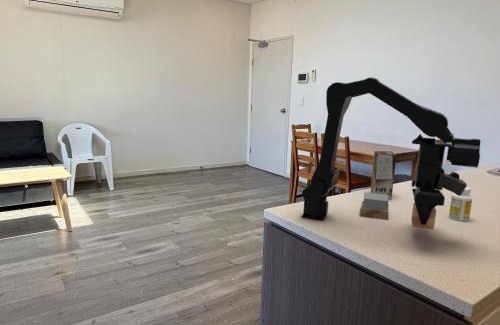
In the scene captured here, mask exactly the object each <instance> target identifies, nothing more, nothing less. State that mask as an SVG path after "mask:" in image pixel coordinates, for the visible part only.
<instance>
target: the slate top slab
mask: <svg viewBox="0 0 500 325" xmlns="http://www.w3.org/2000/svg"><path fill="white" fill-rule="evenodd" d="M363 201H364V202H363V208H369V209H377V210H385V211H387V210H388V204H389V200H388V195H384V194H375V193H371V192H364V194H363Z"/></svg>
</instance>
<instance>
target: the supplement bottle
mask: <svg viewBox="0 0 500 325" xmlns="http://www.w3.org/2000/svg"><path fill="white" fill-rule="evenodd" d="M471 192H472V189H471V187H469V186H466V188H465V190H464V191H463V193H462V195H461V196H458V195H456V194H455V193H453V192H452V195H451V198H450V206H449V215H448V216H449V218H450V219H453V220H456V221H458V222H459V221H460V222H461V221H462V222H465V221H466V222H467V221H469V220H470V216H471V211H472V204H473V202H472V201H473V197H472V195H471Z"/></svg>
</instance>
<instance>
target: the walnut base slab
mask: <svg viewBox="0 0 500 325" xmlns="http://www.w3.org/2000/svg"><path fill="white" fill-rule="evenodd" d="M363 202H364V200H362V202H361V206H360V208H359V209H360V210H359V217H362V218H370V219H376V220H377V219H378V220H386V221H388V220H389V208H390V206H389V203H388V210H387V211H385V210H377V209H369V208H363Z"/></svg>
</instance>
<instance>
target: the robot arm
mask: <svg viewBox="0 0 500 325" xmlns="http://www.w3.org/2000/svg"><path fill="white" fill-rule="evenodd" d="M325 93H326V97H325V99H326V101H325V102H326V104H325V105H326V110H327V111H326V112H327V118H326V124H325V130H324V134H323V135H324V136H323V139H322V144H321V145H322V146H321V150H320V157H319V162H318V164H317V166H316V168H315V169H314V172H313V174H312V176H311V178H310V179H311V180H310V182H309V185H308V186H307V187H306V188H304V189H303V190H302V191H301V194H302V197H303V213H302V214H301V217H302V218H305V219H312V220H319V221H324V220H325V218H326V217H327V216H328V211H329V201H328V199H327V198H328V196H327V195H328V193H329V192H330V191H331V190H332V189H334V187H335V186H336V185H337V184H338V183H339V181H338V179H339V175H340V172H341V171H340V170H339V169H336V166H335V163H336V158H337V153H338V146H339V142H340V138H341V137H340V136H341V131H342V127H343V121H344V116H345V114H346V113H347V110H348V109H349V107H350V104H351V102H352V99H353V98H355V97H356V98H357V97H360V96H365V95H367V94H368V95H369V94H370V95H372V96H373V97H375V98H377V99H378V100H380V101H381V102H382V103H385V105H388V106H389V107H391V108H392V109H394V110H396V111H397V112H399V113H400V114H402V115H403V116H405V117H406V118H408V119H409V120H410V121H411V122H412V123H413V125H415V126H416V127H417V128H418V129H419V130H420V131H421V132H422V133H424V135H426V136H427V137H424V136H423V135H422V134H421V133H419V134H418V135H417V137H415V138H414V139H413V140H411V144H412V145H419V148H418V156H417V162H416V164H415V165H416V166H415V168H416V173H415V176H413V178H412V180H411V187H412V189H411V190H412V195H413V201H414V202H413V203H415V205H416V208H417V212H418V215H419V219H420V222H421V224H422V225H426V223H427V221H428V218H429V216H430V214H431V212H432V209H433V208H434V207H435V208H436V207H438V206H439V207H442V206H445V199H446V197H445V195H444V194H443V192H441V191H443V189H444V190H447V191H449V192H451V193H452V194H453V193H455V194H456V195H458V196H461V195H462V193H463V191H464V190H465V188H466V187H468V183H467V182H466V181H464V180H463V179H460V173H457V172H455V171H451V172H449V173H446V172H445V169H444V168H443V164H444V159H445V158H444V157H445V152H446V151H445V149H446V147H447V154H446V161H448V162H449V163H451V165H450V166H457V167H459V166H461V167H468V168H475V169H476V168H478V167H479V163H480V158H481V153H480V151H481V142H482V141H481V139H480V138H459V137H455V136H454V133H452V131H450V129H449V120H448V118H447V116H446V115H445V114H443V113H441V112H440V111H439V112H438V111H436V110H433V109H431V108H428V107H425V106H423V105H420V104H418V103H416V102H414V101H412V100H411V99H409V98H407V97H406V96H404V95H403V94H401V93H399V92H398V91H396V90H394V89H393V88H391V87H389V86H388V85H386V84H384V83H382V82H381V81H380V80H379V79H378V78H377V77H372V76H371V77H370V76H369V77H366V78H365V79H364V78H363V79H361V80H356V81H352V82H347V83H346V82H341V81H340V82H339V81H338V82H336V81H335V82H333V83H332V84H330V85H329V86H328V87H327V88H326V92H325ZM436 138H437V139H439V140H440V141H441V142H439V141H437V139H436Z"/></svg>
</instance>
